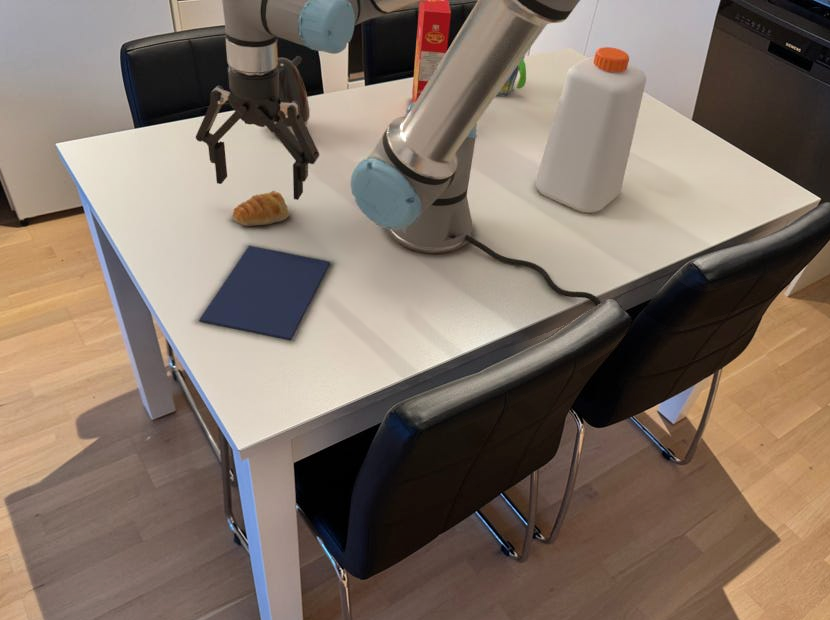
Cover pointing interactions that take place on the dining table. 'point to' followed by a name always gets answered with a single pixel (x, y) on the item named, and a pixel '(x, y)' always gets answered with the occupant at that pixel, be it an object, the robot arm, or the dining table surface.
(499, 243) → the dining table surface
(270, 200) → the pastry
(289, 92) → the pump dispenser
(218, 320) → the cloth mat
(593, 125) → the plastic bottle
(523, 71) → the snack cup
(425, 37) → the food packaging
